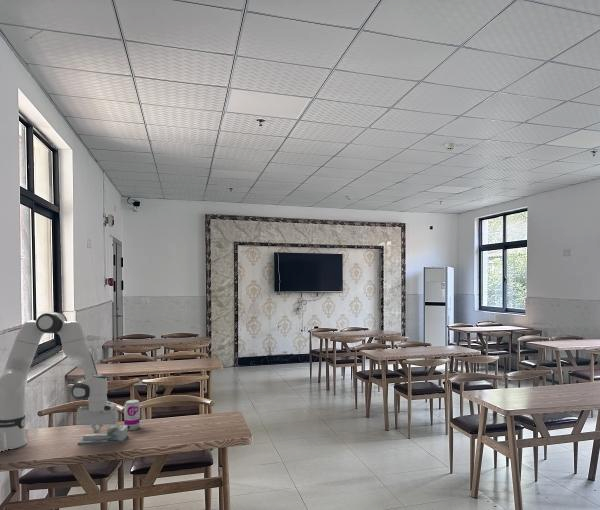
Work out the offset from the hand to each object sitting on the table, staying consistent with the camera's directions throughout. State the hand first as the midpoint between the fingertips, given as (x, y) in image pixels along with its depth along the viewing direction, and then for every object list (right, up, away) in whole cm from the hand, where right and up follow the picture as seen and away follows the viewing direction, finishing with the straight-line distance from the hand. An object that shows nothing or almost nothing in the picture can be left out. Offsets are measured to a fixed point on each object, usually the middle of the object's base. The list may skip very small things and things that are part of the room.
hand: (97, 433), depth 228 cm
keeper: (+9, -3, +1) cm, 10 cm away
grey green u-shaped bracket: (+3, -4, 0) cm, 5 cm away
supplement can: (+11, -6, +20) cm, 23 cm away
